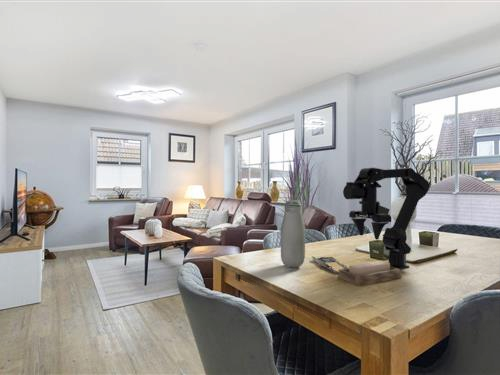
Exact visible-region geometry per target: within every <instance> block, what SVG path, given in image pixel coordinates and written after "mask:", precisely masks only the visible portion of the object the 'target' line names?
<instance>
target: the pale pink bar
mask: <svg viewBox="0 0 500 375" xmlns="http://www.w3.org/2000/svg"><path fill="white" fill-rule="evenodd" d="M348 268H349V273H352V274H354V275H357V276H358V275H364V274H369V273H375V272H381V271H387V270H390V263H389V261H384V260H376V261H369V262H363V263H355V264H349V265H348Z"/></svg>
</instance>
